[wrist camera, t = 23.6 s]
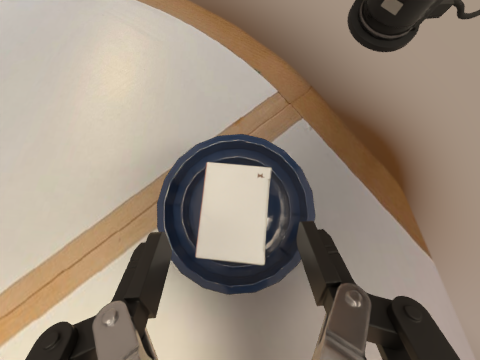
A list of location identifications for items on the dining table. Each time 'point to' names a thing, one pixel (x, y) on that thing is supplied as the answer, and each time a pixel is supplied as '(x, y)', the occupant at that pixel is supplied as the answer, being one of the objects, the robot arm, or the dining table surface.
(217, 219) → the small box
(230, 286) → the glazed bowl
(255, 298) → the dining table surface
